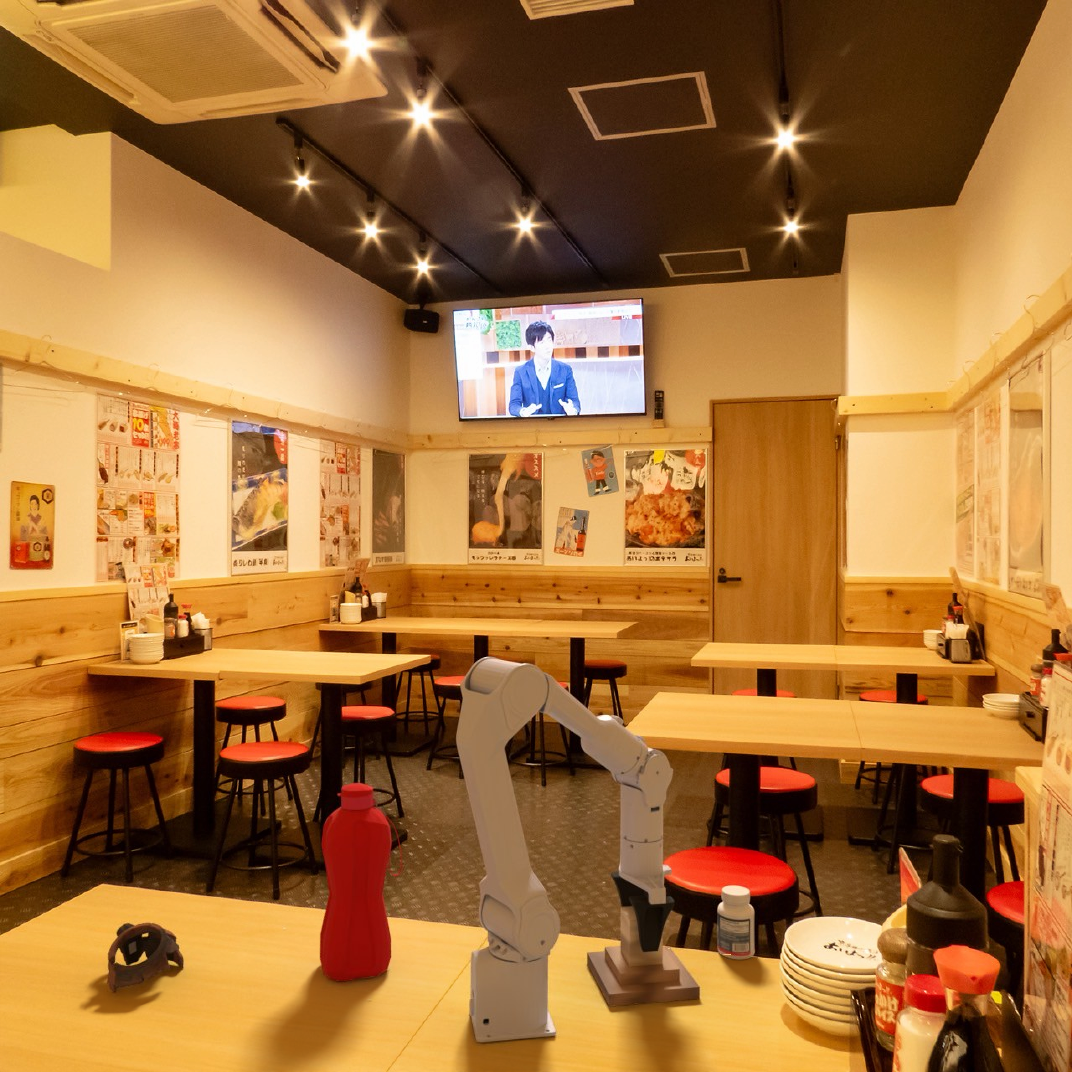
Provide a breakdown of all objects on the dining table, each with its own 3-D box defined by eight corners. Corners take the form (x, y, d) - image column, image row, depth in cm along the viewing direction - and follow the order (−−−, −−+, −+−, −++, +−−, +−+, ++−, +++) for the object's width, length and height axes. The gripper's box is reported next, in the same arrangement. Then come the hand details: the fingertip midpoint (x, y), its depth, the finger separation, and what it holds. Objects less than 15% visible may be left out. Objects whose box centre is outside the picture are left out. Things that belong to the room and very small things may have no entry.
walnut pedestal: (609, 1006, 111) (609, 982, 111) (587, 963, 123) (587, 941, 123) (699, 998, 114) (699, 975, 114) (669, 957, 125) (669, 935, 125)
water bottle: (407, 975, 119) (409, 789, 120) (324, 988, 115) (327, 796, 116) (394, 947, 128) (396, 773, 129) (316, 958, 124) (319, 779, 125)
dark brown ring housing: (203, 975, 120) (187, 935, 116) (140, 1030, 114) (121, 990, 110) (153, 931, 127) (137, 892, 123) (91, 981, 120) (72, 942, 116)
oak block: (629, 966, 116) (629, 920, 116) (620, 951, 120) (620, 907, 120) (662, 964, 117) (662, 918, 117) (652, 949, 121) (652, 904, 121)
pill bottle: (727, 941, 131) (727, 880, 131) (760, 951, 127) (760, 889, 128) (710, 953, 127) (710, 890, 127) (744, 964, 123) (744, 900, 124)
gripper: (688, 852, 112) (688, 959, 112) (653, 818, 127) (653, 914, 126) (635, 854, 111) (634, 964, 111) (605, 821, 125) (605, 917, 125)
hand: (641, 938), depth 119 cm, fingers open, 7 cm apart
